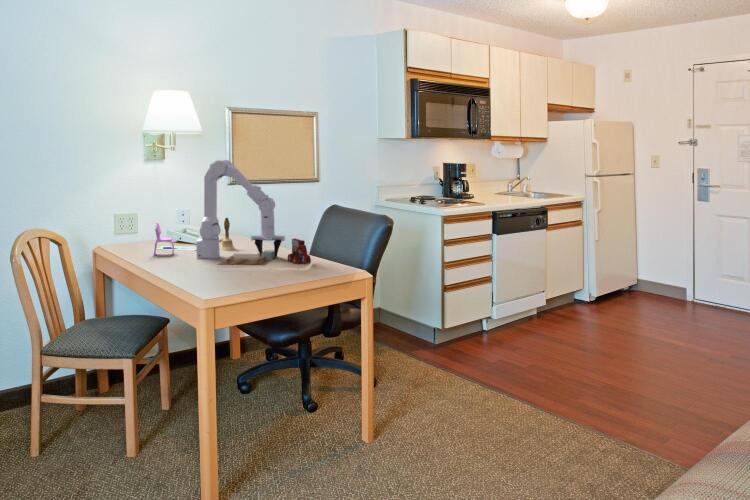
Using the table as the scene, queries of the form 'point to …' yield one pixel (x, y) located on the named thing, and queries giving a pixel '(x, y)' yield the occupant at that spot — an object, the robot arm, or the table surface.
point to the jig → (244, 261)
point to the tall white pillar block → (247, 255)
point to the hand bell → (227, 238)
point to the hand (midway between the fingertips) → (268, 256)
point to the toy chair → (161, 238)
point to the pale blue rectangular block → (268, 254)
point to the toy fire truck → (299, 252)
